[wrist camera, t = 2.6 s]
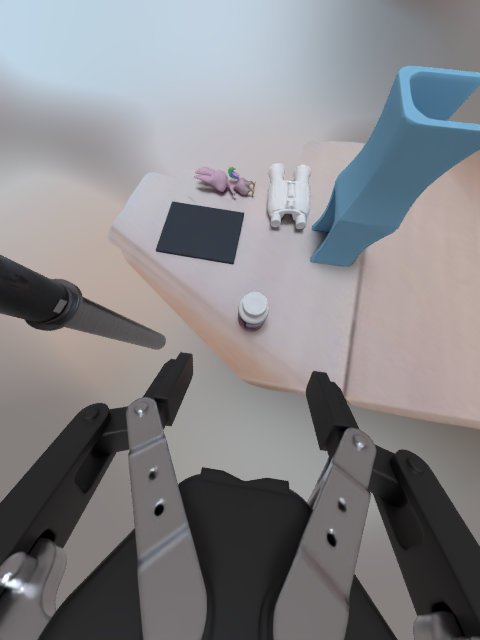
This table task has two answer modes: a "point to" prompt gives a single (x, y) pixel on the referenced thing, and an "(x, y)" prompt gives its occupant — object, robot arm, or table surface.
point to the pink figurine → (225, 180)
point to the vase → (398, 160)
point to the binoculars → (289, 195)
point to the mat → (201, 232)
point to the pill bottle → (253, 311)
